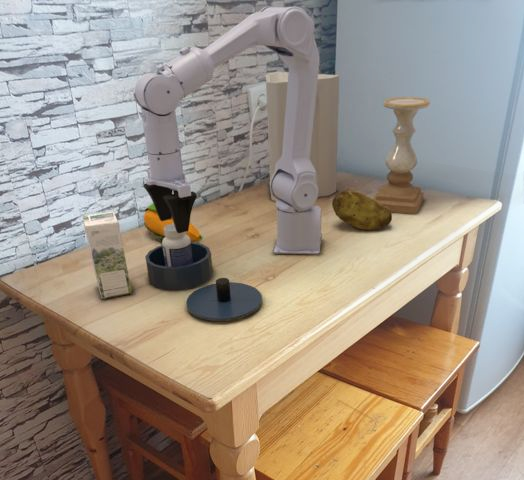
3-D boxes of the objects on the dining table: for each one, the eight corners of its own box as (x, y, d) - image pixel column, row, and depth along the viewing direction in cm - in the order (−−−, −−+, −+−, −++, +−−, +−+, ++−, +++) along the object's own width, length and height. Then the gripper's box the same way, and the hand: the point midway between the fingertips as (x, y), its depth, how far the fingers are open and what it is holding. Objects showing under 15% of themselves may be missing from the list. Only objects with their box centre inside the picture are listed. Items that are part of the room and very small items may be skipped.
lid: (266, 288, 105) (265, 265, 102) (256, 325, 94) (254, 300, 91) (196, 286, 107) (194, 263, 104) (178, 322, 96) (174, 298, 93)
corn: (159, 193, 130) (211, 212, 118) (165, 223, 135) (216, 246, 122) (131, 203, 127) (182, 224, 114) (139, 234, 131) (189, 258, 118)
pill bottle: (200, 271, 111) (194, 224, 106) (182, 282, 107) (176, 234, 102) (179, 266, 114) (172, 219, 108) (161, 276, 110) (153, 229, 105)
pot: (218, 263, 115) (216, 242, 112) (204, 291, 105) (202, 268, 102) (159, 262, 117) (156, 241, 114) (140, 289, 107) (136, 267, 104)
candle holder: (370, 210, 137) (376, 104, 124) (380, 196, 145) (387, 95, 132) (415, 214, 133) (427, 106, 120) (423, 199, 141) (435, 96, 128)
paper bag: (246, 195, 151) (239, 80, 135) (279, 180, 160) (276, 71, 145) (306, 207, 141) (306, 84, 125) (337, 190, 150) (340, 75, 135)
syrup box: (127, 281, 110) (113, 209, 102) (132, 294, 105) (118, 219, 97) (98, 287, 108) (81, 214, 100) (101, 300, 103) (84, 225, 96)
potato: (380, 237, 122) (383, 201, 118) (327, 228, 128) (327, 193, 124) (394, 225, 128) (397, 190, 124) (342, 216, 134) (343, 183, 130)
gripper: (127, 146, 101) (139, 219, 109) (159, 163, 91) (170, 242, 98) (163, 140, 104) (173, 211, 112) (198, 155, 94) (206, 233, 101)
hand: (174, 225), depth 105 cm, fingers open, 7 cm apart
